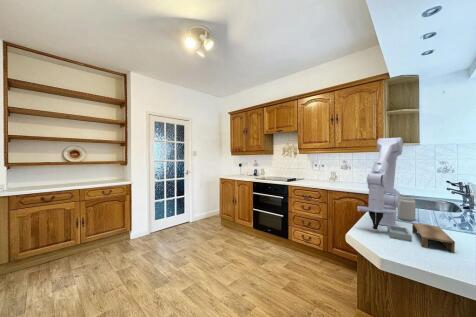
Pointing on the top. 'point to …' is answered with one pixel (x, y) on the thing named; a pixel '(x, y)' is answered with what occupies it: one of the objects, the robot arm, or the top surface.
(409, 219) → the can
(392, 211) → the robot arm
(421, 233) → the shelf
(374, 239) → the top surface
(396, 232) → the tray
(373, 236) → the top surface
